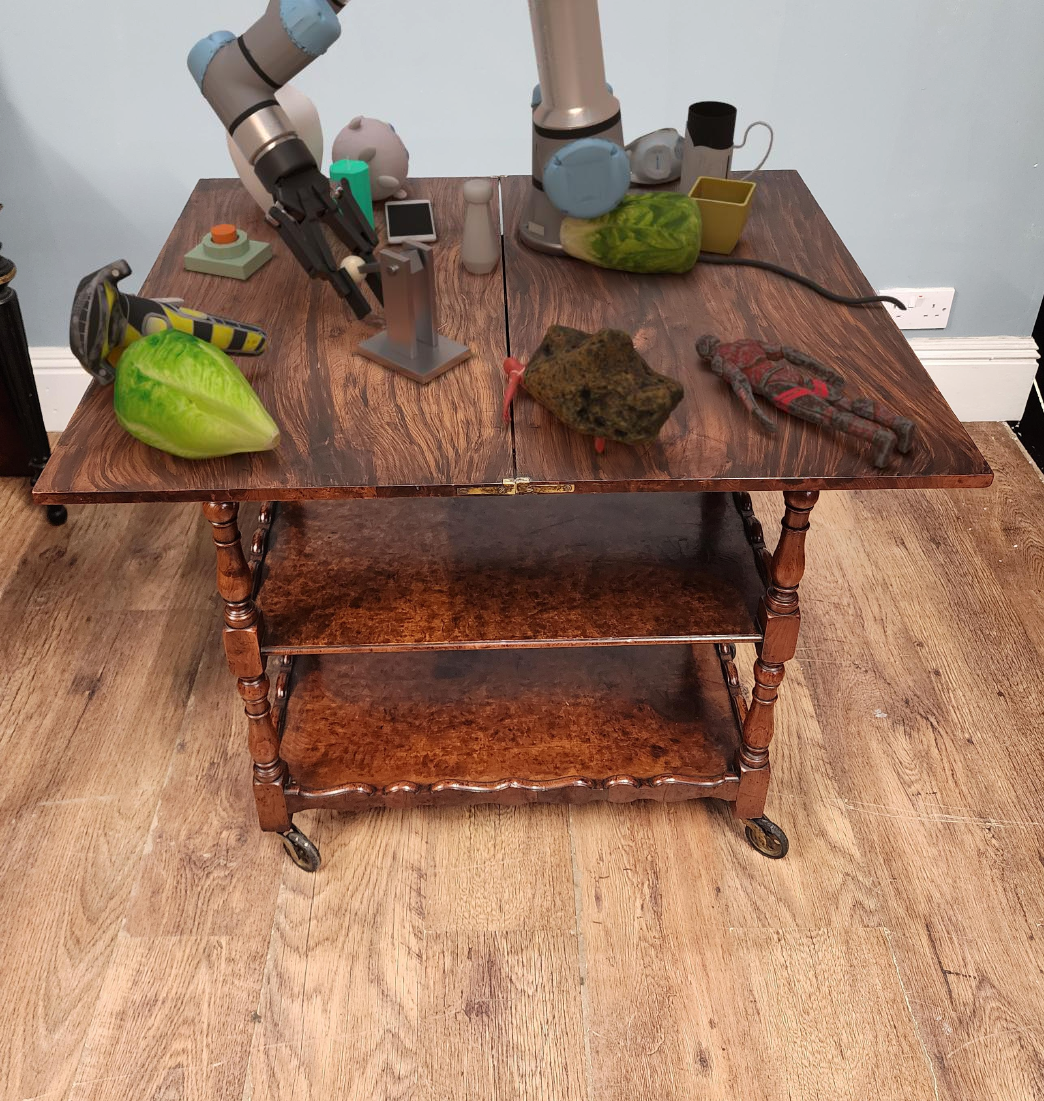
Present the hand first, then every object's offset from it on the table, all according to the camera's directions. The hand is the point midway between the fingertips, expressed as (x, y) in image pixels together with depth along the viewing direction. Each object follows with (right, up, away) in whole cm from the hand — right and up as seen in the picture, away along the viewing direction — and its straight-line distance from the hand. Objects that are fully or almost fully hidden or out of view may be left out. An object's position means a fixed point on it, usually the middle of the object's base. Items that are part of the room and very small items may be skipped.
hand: (377, 308), depth 142 cm
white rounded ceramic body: (+41, +33, +37) cm, 64 cm away
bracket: (+5, -6, 0) cm, 8 cm away
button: (-25, +14, +18) cm, 34 cm away
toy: (-5, +27, +28) cm, 39 cm away
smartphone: (+1, +20, +30) cm, 36 cm away
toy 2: (-23, -4, -3) cm, 23 cm away
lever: (+1, +3, -4) cm, 5 cm away
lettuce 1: (-17, -17, -13) cm, 27 cm away
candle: (-7, +18, +28) cm, 34 cm away
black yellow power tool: (-18, -8, -20) cm, 28 cm away
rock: (+34, -16, -26) cm, 46 cm away
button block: (-25, +11, +20) cm, 34 cm away
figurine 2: (+62, -20, -20) cm, 68 cm away
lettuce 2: (+35, +10, +19) cm, 41 cm away
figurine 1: (+30, -18, -16) cm, 39 cm away
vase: (-19, +21, +32) cm, 43 cm away
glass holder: (+51, +25, +35) cm, 67 cm away
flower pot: (+49, +15, +24) cm, 56 cm away
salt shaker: (+13, +10, +19) cm, 25 cm away
